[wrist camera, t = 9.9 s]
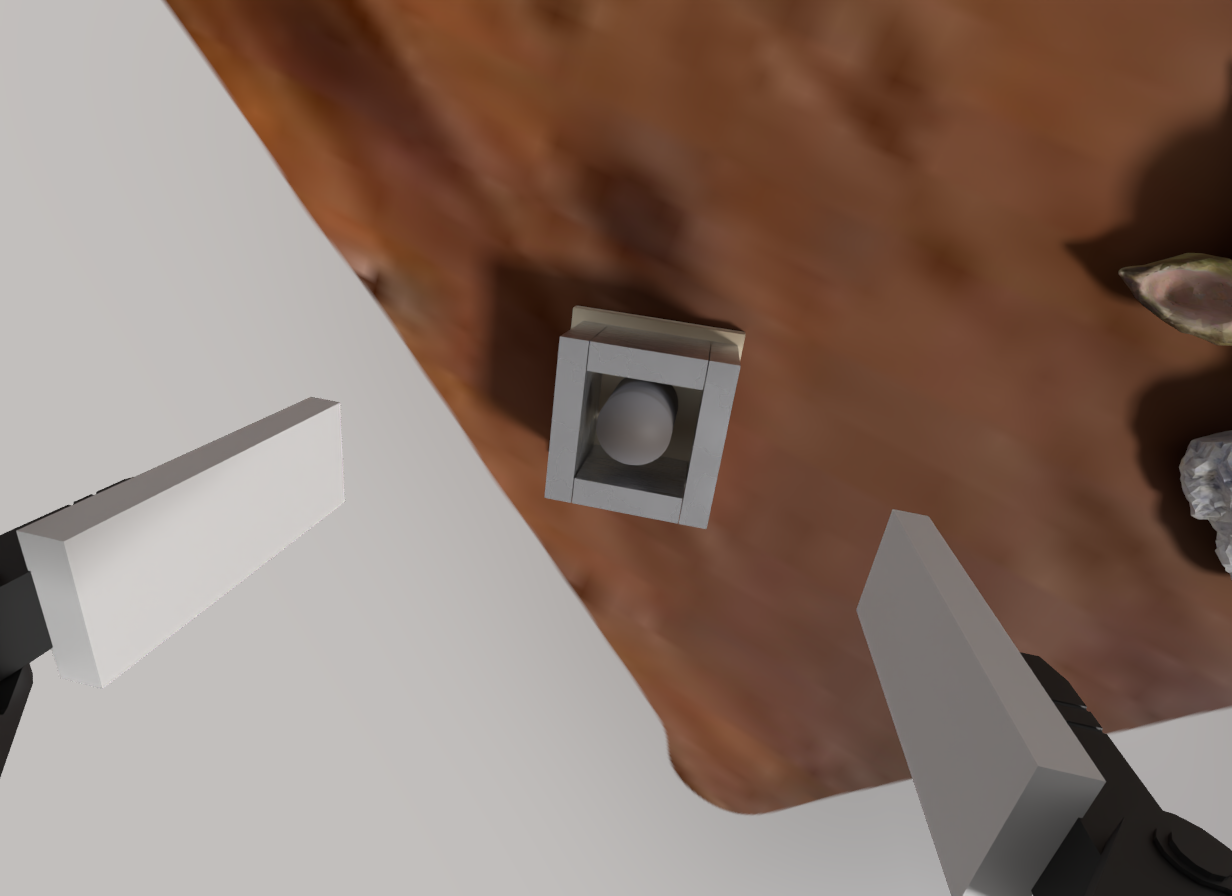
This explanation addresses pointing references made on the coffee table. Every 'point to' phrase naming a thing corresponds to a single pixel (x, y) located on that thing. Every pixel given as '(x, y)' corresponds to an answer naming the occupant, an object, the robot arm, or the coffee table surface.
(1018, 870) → the robot arm
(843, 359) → the coffee table surface
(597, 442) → the cream square tile
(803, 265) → the coffee table surface
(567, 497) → the grey hollow square block
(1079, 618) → the coffee table surface
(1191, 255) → the ceramic sculpture
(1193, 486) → the rock
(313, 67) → the coffee table surface
